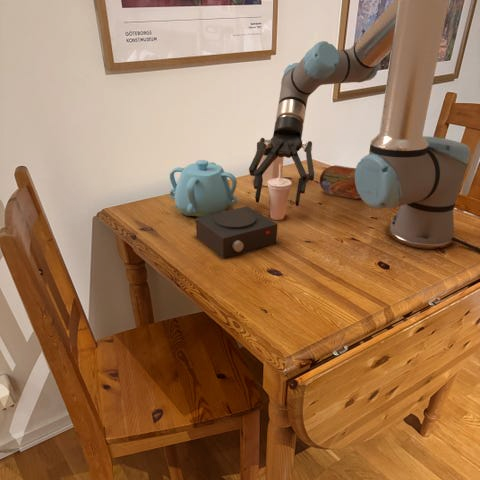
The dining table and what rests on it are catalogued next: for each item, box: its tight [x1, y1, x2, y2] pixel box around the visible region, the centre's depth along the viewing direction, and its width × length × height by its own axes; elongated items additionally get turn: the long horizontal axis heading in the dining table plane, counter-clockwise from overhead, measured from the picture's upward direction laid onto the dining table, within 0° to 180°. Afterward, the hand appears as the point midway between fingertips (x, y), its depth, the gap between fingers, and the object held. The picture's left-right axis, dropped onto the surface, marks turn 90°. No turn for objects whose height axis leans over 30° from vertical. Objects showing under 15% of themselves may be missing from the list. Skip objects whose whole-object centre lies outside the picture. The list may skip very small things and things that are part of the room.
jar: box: [254, 140, 285, 187], centre depth 139 cm, size 9×8×12 cm
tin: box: [319, 164, 361, 200], centre depth 132 cm, size 15×3×8 cm, turn 63°
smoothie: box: [266, 164, 293, 221], centre depth 116 cm, size 6×6×14 cm
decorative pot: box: [169, 159, 239, 218], centre depth 119 cm, size 16×16×14 cm
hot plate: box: [195, 205, 279, 259], centre depth 107 cm, size 14×15×6 cm
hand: (276, 202), depth 115 cm, fingers open, 10 cm apart
